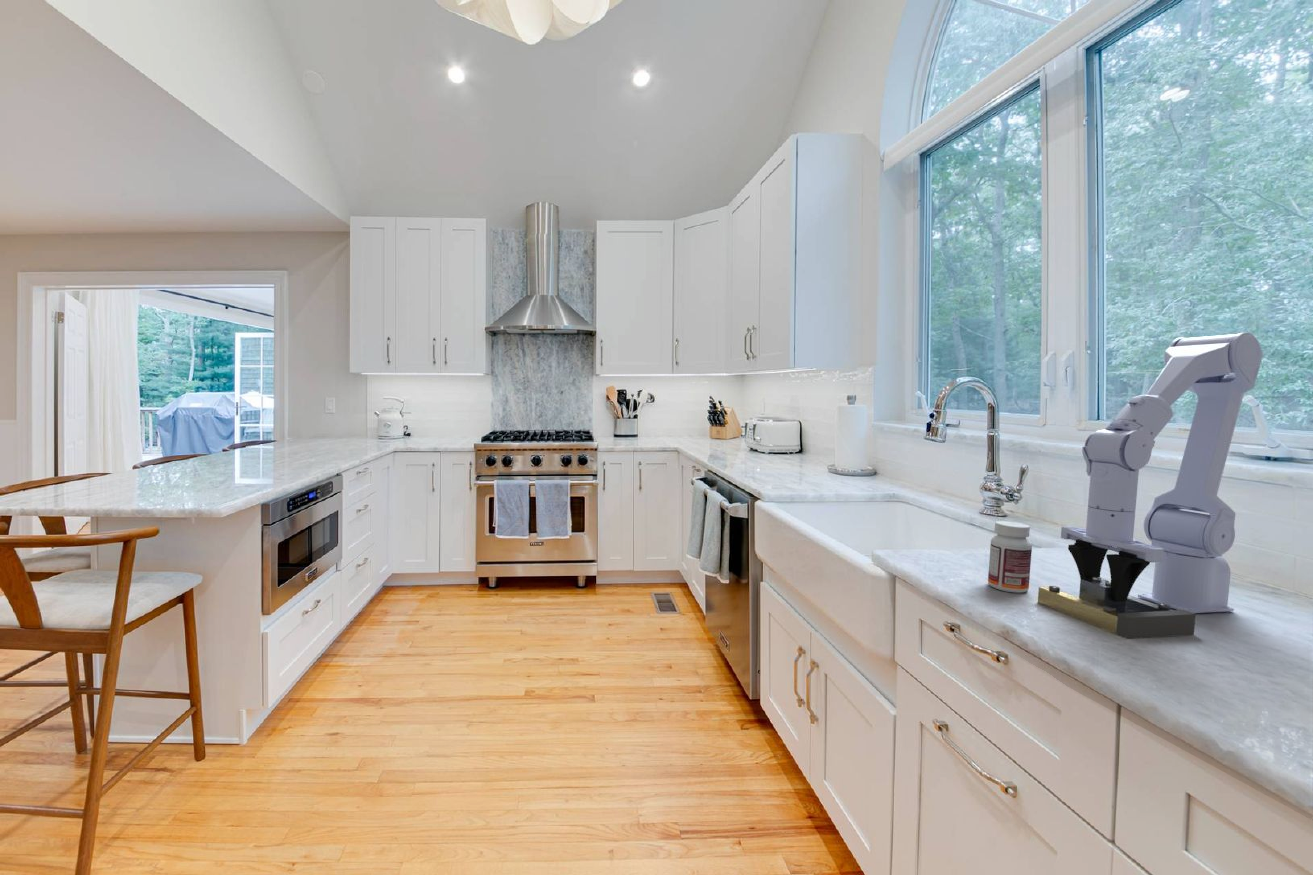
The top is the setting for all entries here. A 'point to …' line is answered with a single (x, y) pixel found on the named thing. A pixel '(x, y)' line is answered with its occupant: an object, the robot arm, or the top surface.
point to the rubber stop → (1155, 624)
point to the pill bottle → (1010, 557)
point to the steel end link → (1143, 606)
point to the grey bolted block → (1099, 593)
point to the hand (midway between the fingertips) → (1103, 595)
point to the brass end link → (1079, 608)
